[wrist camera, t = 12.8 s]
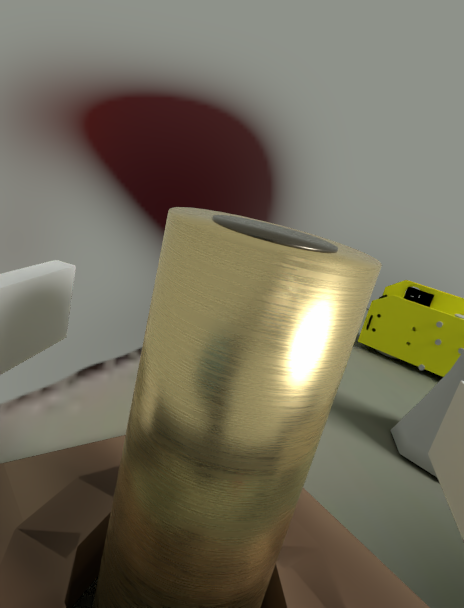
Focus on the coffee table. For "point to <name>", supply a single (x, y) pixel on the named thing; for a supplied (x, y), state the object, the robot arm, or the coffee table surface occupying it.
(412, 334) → the yellow toy chassis
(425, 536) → the coffee table surface
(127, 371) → the coffee table surface
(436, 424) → the flask
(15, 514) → the jig plate
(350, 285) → the cylinder
